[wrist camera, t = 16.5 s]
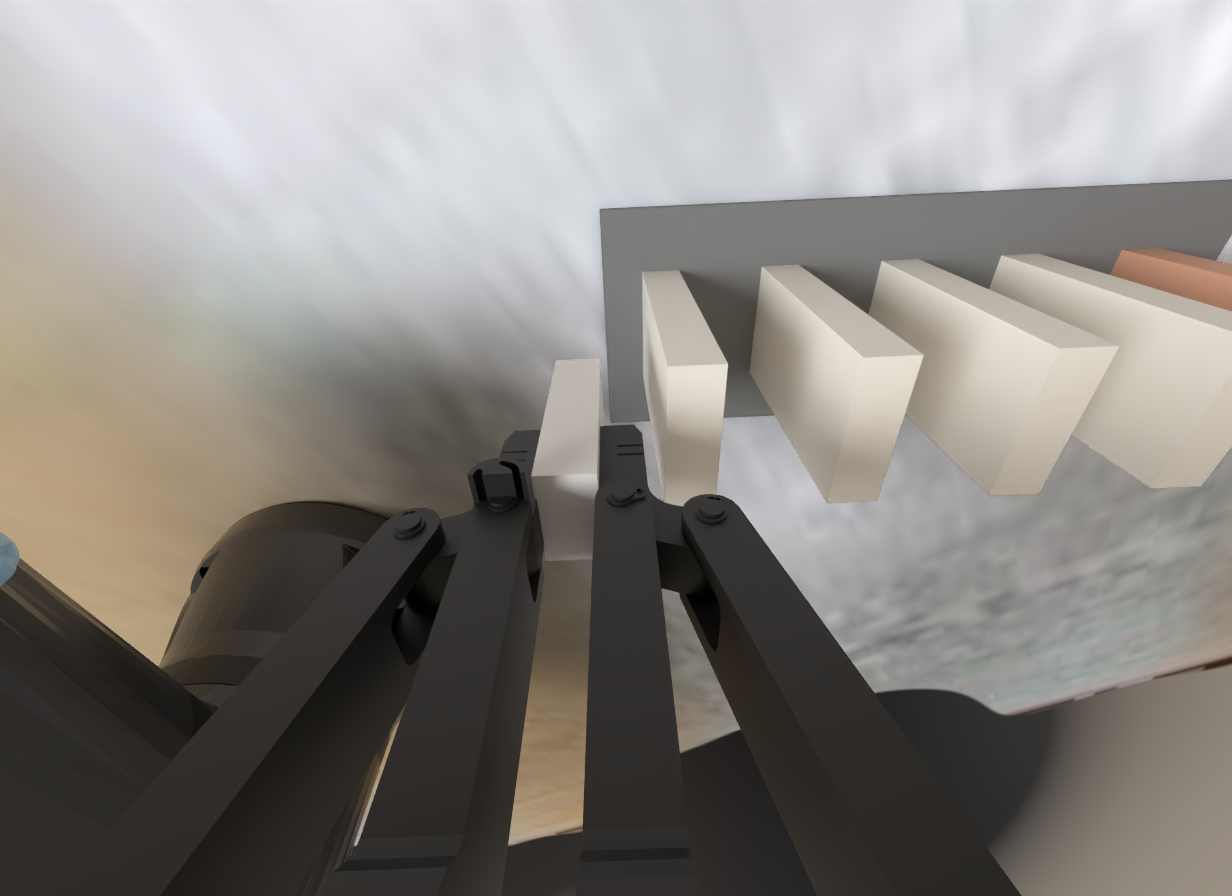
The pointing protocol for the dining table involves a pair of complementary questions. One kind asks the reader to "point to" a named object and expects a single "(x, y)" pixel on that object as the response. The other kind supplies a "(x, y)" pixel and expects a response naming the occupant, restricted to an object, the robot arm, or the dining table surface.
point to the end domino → (1178, 274)
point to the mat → (871, 254)
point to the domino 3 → (989, 373)
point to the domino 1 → (682, 387)
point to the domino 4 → (1140, 367)
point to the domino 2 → (831, 381)
